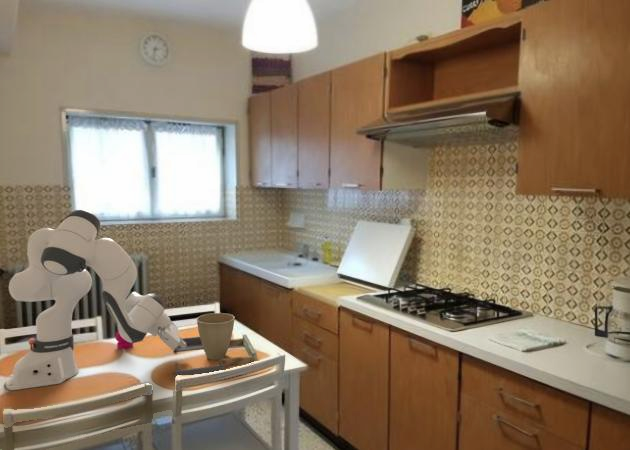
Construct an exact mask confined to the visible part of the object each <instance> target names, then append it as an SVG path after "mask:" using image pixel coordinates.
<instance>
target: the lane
mask: <svg viewBox="0 0 630 450" xmlns="http://www.w3.org/2000/svg"><path fill="white" fill-rule="evenodd" d="M235 346H236V347H237V346H243V347H244V348H245V351H246V353H247V354H248V356H238V357H236V356H235V357H229V358H222V361H223V364H224V368H227V367H231V366H232V367H233V366H243V365H248V364H247V363H251V362H254V361H257V351H256V349H255V347H254V346H253V344H252V343H251V341H250V339H249V337H248V335H247V334H242V338H240V337H239V338H231V340H230V344H229V347H235ZM242 364H243V365H242ZM251 364H252V363H251Z"/></svg>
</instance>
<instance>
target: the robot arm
mask: <svg viewBox="0 0 630 450" xmlns="http://www.w3.org/2000/svg"><path fill="white" fill-rule="evenodd" d="M59 223H60V224H58V226H57V228H55V229H54V228H49V227H42V228H39V229H37V230H35V231H33V232H32V233H31V235H29V238H28V240H27V241H28V242H27V251H26V252H27V259H28V267H26V269H24V270H22V271H21V272H17V273H15V274H14V275H13V276H12V278H10V280H9V284H8V292H9V294H10V296H11V297H12V299H14V300H15V301H16V302H19V301H20V302H29V303H30V302H31V303H33V302H42V301H53V300H54V301H55V303H54V304H53V305H52V306H50V307H48V308H47V309H45V310H43V311H41V312H40V313H39V314H38V316H37V317H36V319H35V326H36V327H35V328H36V331H35V332H36V338H30V339H29V340H28V345H29V346H30V347H29V348H30V350H29V351H28V352H27V353H26V354H25V355H23V356H22V357H21V358H19V359H18V360H17V361H16V362H15V364H14V367H13V370H12V373H11V374H10V375H9V376H8V377H6V380H5V388H6V389H7V390H10V391H16V390H17V391H18V390H24V389H30V388H31V389H33V388H38V387H45V386H52V385H58V384H62V383H64V382H65V381H66V380H67V379H70V378H73V377H74V376H76V375H77V374H78V373H79V368H78V366H77V362H76V358H75V353H74V349H75V339H74V335H73V333H72V328H73V327H72V326H73V325H72V323H73V322H72V321H73V312H74V310H75V307H76V306H77V304H78V303H79V302H80V300H81V299H82V298H83V297H85V295H87V294H88V293H89V291H91V288H92V285H93V279H92V275H91V274H90V272H89V271H88V269H87V268H86V267H89V268H91V269H93V271H94V272H95V273H96V274H97V276H98V278H100V280H101V282H102V293H101V298H102V300H103V304H104V305H105V307H106V309H107V311H108V313H109V315H110V317H111V318H112V320H113V322H114V324H115V327H116V329H117V330H118V333H119V334H120V336H121V337H122V338H123V339H124V340H126V341H127V342H129V343H133V344H136V343H140V342H143V340H144V339H145V337H147V334H148V333H149V334H150V335H151V336H153V337H156V336H158V337H159V339H160V340H161V341H162V342H163V343H164V344H165V345H166V346H168V348H170V349H171V350H173V351H174V350H175V349H176V348H177V347H178V346H180V347H182V348H183V349H185V348H186V346H187V345H186V342H185V341H183V339H182V338H183V337H182V336H180V333H179V327H178V326H177V325H176V324H175V323H174V322H173V321H172V320H171V318H170V317H169V316H168V315H167V314H166V313H165V310H166V303H165V301H164V300H163V299H162V298H161V297H160V296H159V295H157V294H156V293H146V294H145V295H141V294H140V293H138V292H137V291H132V292H130V291H131V289H132V288H133V287H134V285H135V283H136V280H137V276H138V269H137V265H136V264H135V262H134V260H133V259H132V258H131V256H130V255H129V254H128V253H127V252H126V250H125V249H124V248H123V247H122V246H121V245H120V244H119V243H117V242H116V241H115V240H114V239H112V238H108V237H102V238H98V239H96V236H97V235H98V234H99V232H100V229H101V222H100V219H99V218H98V217H97V216H96V215H95V214H93V213H92V212H90V211H89V210H88V211H87V210H84V209H75V210H73V211H71V212H70V213H69V214H67V215H66V216H65V217H64V218H62V219H61V220H60V222H59Z"/></svg>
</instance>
